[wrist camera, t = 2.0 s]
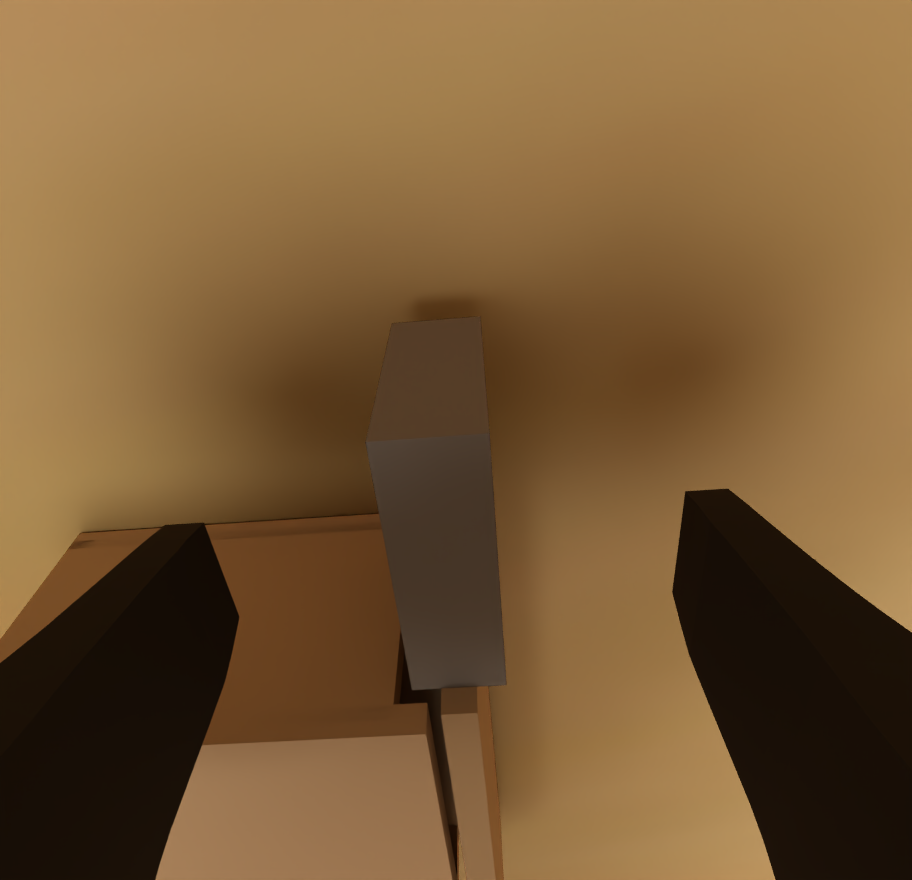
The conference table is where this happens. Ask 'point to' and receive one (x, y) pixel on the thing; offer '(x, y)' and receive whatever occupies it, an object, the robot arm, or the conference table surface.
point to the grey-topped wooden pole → (445, 551)
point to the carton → (298, 712)
